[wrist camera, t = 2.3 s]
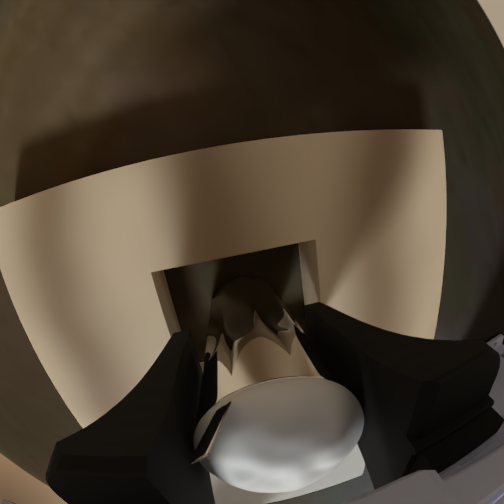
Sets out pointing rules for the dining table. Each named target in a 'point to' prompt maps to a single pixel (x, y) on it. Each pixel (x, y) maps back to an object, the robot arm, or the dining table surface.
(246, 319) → the milkshake
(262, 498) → the grey mat
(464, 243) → the dining table surface
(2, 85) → the dining table surface
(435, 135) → the pocket holder
